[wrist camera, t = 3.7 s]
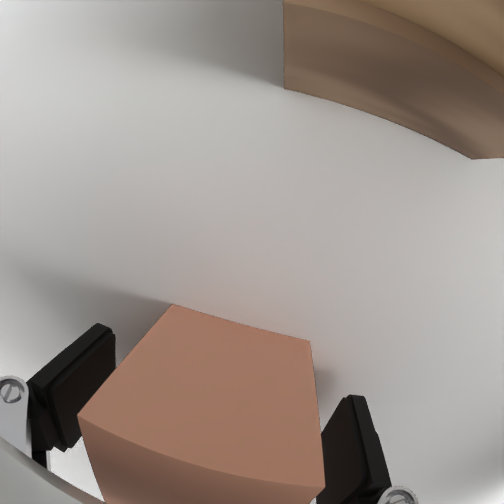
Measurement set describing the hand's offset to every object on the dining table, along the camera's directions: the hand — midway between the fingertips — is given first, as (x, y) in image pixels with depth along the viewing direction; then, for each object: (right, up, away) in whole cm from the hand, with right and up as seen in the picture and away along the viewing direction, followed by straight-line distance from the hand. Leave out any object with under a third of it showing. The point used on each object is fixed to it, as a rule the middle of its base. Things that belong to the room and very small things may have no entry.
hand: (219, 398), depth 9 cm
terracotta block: (0, 0, +1) cm, 1 cm away
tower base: (+6, +13, -2) cm, 14 cm away
